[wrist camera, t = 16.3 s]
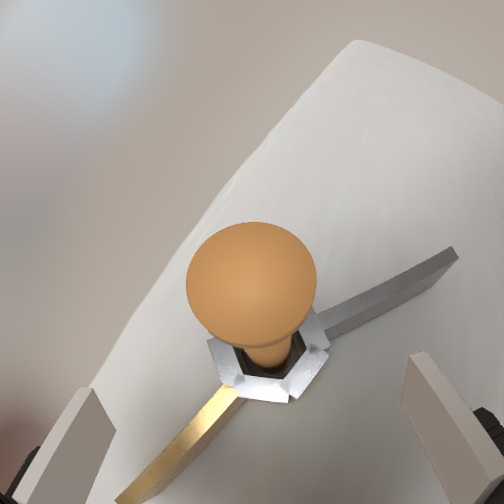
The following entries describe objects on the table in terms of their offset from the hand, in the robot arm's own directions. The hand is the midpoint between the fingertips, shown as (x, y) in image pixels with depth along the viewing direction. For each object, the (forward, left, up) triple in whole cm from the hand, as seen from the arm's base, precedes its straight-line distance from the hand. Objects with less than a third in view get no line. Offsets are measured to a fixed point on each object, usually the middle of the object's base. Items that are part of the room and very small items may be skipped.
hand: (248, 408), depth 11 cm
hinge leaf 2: (-1, -9, -14) cm, 17 cm away
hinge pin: (+2, -4, -14) cm, 15 cm away
